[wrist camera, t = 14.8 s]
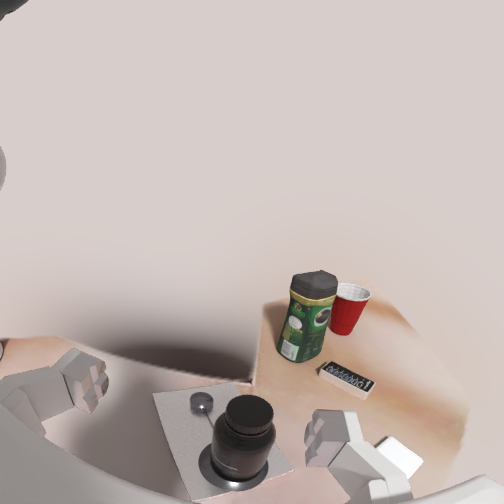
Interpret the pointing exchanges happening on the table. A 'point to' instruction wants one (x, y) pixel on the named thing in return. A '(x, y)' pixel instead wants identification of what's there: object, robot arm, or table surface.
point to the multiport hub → (347, 380)
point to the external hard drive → (400, 456)
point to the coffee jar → (307, 315)
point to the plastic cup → (348, 307)
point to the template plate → (206, 440)
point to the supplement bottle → (242, 439)
